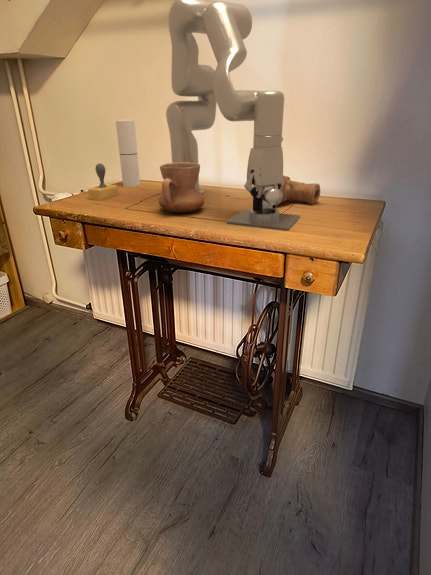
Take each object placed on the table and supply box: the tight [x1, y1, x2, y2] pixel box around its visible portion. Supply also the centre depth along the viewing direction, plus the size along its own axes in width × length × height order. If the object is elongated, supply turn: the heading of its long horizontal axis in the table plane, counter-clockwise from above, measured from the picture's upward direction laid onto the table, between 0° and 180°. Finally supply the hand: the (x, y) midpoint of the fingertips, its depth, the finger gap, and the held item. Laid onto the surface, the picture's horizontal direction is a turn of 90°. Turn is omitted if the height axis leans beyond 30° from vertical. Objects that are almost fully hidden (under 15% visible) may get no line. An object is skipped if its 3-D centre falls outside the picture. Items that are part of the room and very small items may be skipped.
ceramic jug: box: [158, 162, 205, 214], centre depth 122 cm, size 18×14×14 cm
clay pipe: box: [279, 174, 321, 205], centre depth 130 cm, size 19×11×15 cm
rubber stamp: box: [87, 162, 119, 201], centre depth 141 cm, size 10×6×12 cm, turn 154°
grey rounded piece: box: [256, 185, 283, 214], centre depth 110 cm, size 7×5×8 cm, turn 36°
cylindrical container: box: [115, 119, 141, 188], centre depth 157 cm, size 7×7×25 cm
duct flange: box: [226, 208, 301, 231], centre depth 113 cm, size 18×14×3 cm
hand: (264, 208), depth 112 cm, fingers closed on grey rounded piece, 4 cm apart
